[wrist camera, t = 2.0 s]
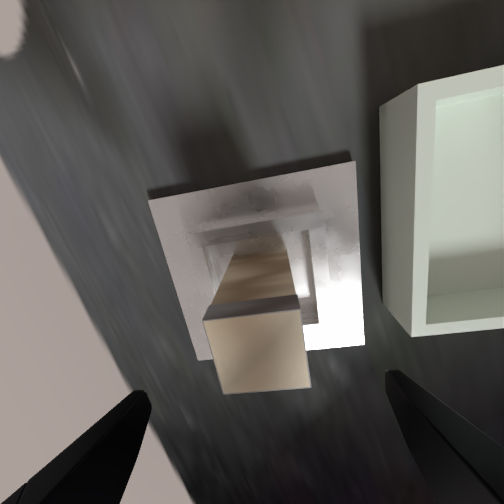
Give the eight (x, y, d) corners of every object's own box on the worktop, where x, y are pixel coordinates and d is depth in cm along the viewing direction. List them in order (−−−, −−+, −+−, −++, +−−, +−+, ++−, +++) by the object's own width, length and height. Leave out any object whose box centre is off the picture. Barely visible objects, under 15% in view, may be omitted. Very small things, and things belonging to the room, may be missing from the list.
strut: (287, 247, 17) (300, 309, 9) (294, 298, 18) (311, 387, 11) (231, 256, 18) (201, 320, 10) (242, 304, 19) (223, 394, 11)
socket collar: (352, 161, 15) (364, 159, 13) (361, 339, 20) (371, 358, 18) (151, 199, 17) (136, 203, 15) (199, 355, 21) (192, 374, 19)
